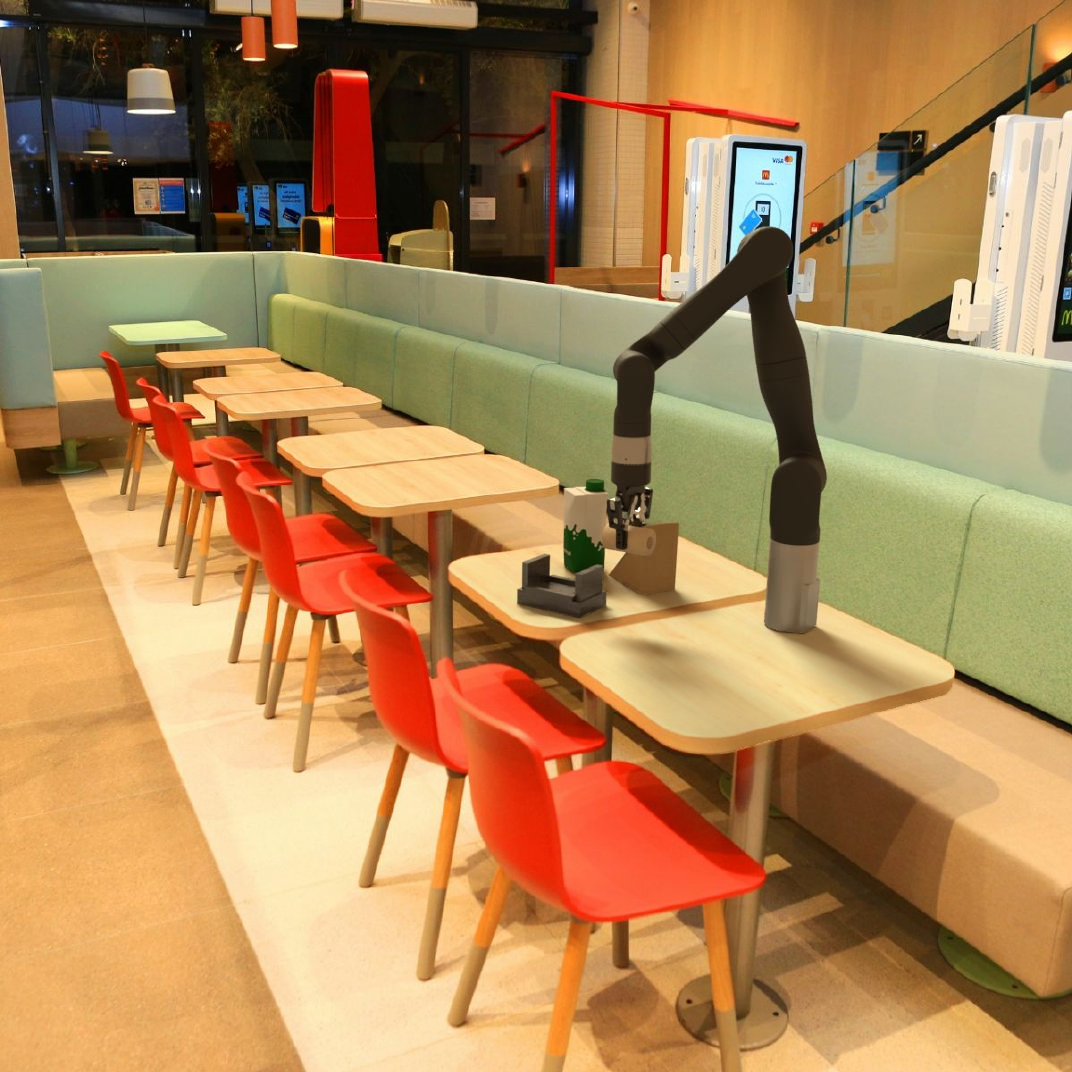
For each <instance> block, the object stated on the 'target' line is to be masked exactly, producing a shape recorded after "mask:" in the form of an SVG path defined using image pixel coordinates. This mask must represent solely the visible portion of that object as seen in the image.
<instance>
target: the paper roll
mask: <svg viewBox="0 0 1072 1072" xmlns="http://www.w3.org/2000/svg"><path fill="white" fill-rule="evenodd" d="M627 531H628V541H627V546H628V547H627V549H625V550H621V549H617V548H616V530H615V529H613V528H610V527H609V522H608V523H606V526H605V527H604V530H603V533H602V544H603V547H604V548H605V550H611V551H616V552H621V553H632V554H638V555H643V556H650V555H651V554H652V553H653V551H654V549H655V545H656V534H655V531H654V530H653V529H648V528H642V527H635V526H631V525H628V530H627Z"/></svg>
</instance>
